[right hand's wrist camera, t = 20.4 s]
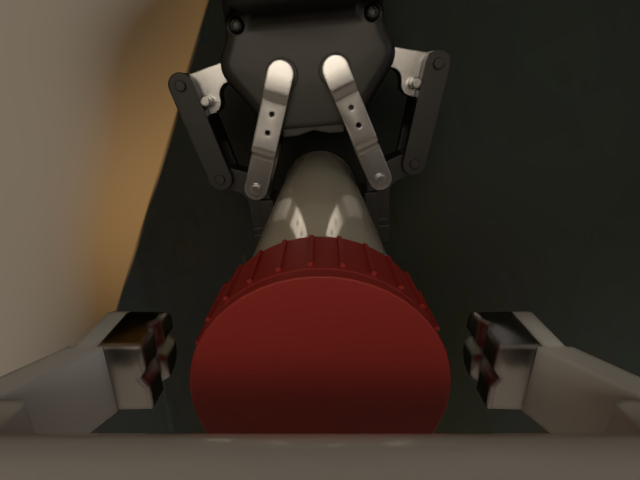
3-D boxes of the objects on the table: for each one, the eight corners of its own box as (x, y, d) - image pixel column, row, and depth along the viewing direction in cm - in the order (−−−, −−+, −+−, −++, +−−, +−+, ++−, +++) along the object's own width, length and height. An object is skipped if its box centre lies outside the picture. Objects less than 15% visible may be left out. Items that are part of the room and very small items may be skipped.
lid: (177, 269, 10) (137, 317, 8) (399, 203, 9) (423, 235, 7) (257, 433, 12) (244, 508, 10) (445, 388, 11) (475, 457, 9)
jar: (366, 198, 28) (459, 404, 9) (307, 229, 29) (284, 477, 10) (333, 137, 26) (367, 236, 8) (272, 172, 27) (169, 338, 9)
